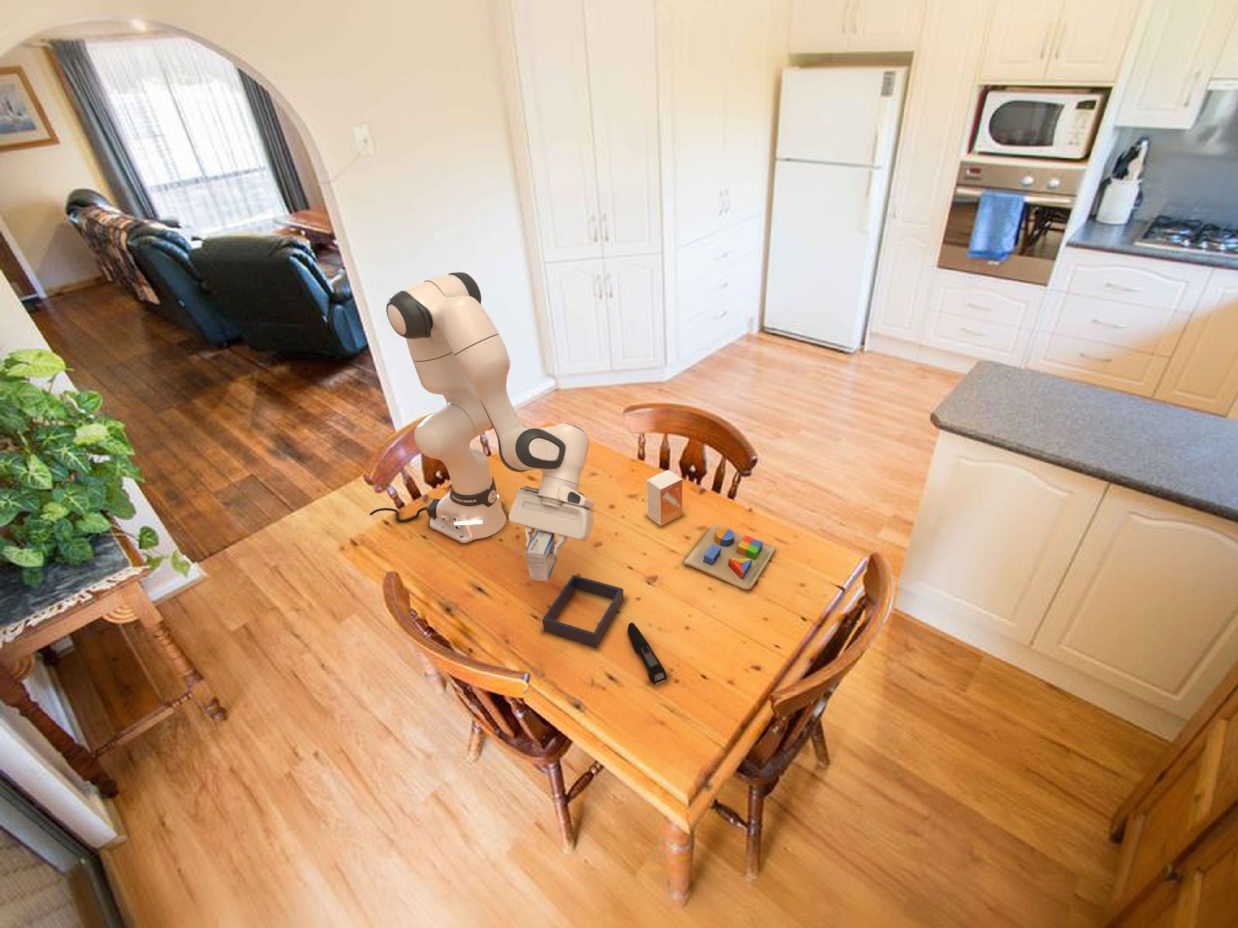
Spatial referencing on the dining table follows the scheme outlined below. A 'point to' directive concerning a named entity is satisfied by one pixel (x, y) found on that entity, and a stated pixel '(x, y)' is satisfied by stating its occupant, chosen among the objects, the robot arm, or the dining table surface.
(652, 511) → the small box
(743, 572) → the shape puzzle
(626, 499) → the dining table surface
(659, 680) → the electric trimmer
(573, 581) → the dark rectangular frame
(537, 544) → the medicine box
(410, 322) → the robot arm
